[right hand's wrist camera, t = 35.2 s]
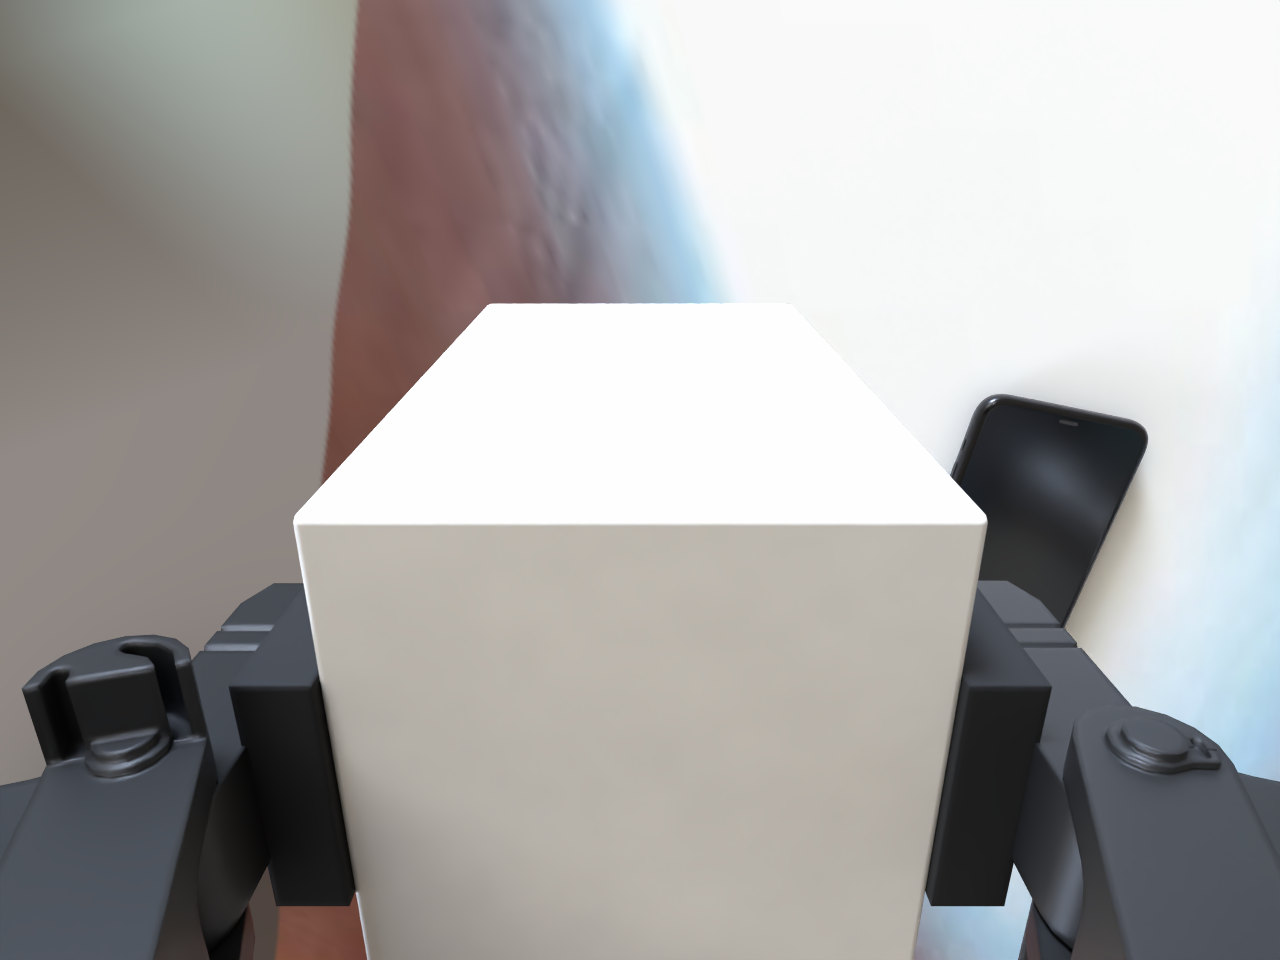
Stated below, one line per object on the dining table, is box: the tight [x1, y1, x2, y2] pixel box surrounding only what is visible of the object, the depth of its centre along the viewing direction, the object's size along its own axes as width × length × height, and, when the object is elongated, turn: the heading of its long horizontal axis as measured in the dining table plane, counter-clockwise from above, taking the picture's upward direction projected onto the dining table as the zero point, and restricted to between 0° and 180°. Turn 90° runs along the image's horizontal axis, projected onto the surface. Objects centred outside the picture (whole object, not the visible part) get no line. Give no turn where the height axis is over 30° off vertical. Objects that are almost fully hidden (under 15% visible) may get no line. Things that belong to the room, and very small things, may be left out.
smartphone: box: [950, 394, 1148, 628], centre depth 39 cm, size 8×1×16 cm
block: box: [293, 304, 988, 960], centre depth 13 cm, size 6×6×10 cm
